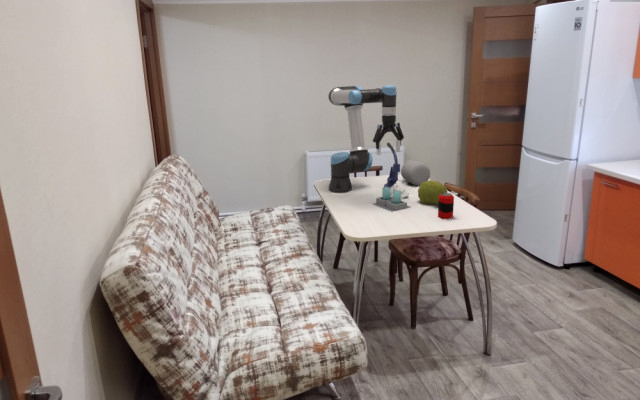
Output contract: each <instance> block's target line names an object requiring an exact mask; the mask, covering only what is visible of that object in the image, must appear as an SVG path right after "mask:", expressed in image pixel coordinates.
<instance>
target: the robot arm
mask: <svg viewBox="0 0 640 400" xmlns="http://www.w3.org/2000/svg"><path fill="white" fill-rule="evenodd" d="M327 96H328V100H329V103H331V105H334V106H339V107H340V106H344V110H346V111H347V120H348V128H349V129H348V130H349V137H350V146H351V149H350V150H349V151H341V152H340V151H339V152H337V153H333V154H332V155H331V156H330V180H329V185H328V191H329V192H332V193H340V194H341V193H348V192H349V193H350V192H351V191H352V190H353V184H352V180H351V179H350V173H357V172H360V173H361V172H367V171H369V170H370V169H371V167H372V165H373V155H372V152H370V151H369V150H368V148H367V146H366V145H365V137H364V127H363V126H364V125H363V119H362V117H363V116H362V108H363V106H364V105H365V104H377V103H381V114H382V115H381V123H382V124H377V127H376V131H375V133H374V137H373V139H372V142H373V143H375V149H376V155H377V156H381V154H382V143H381V141H382V139H383V138H384V137H385V135H386V134H387V133H392V134H393V135H394V137H395V138H396V140H395V152H396V153H400V152H401V147H402V146H401V145H402V141H403V140H405V136H404V133H403V131H402V129H401V123H400V122H397V116H396V114H397V86H395V85H383V86H382V88H381V87H380V88H378V87H377V88H369V89H364V88H363V87H361V86H360V85H349V86H337V87H336V86H335V87H334V88H332V89H331V90H330V91H329V93H328V95H327Z"/></svg>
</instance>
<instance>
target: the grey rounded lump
mask: <svg viewBox="0 0 640 400" xmlns="http://www.w3.org/2000/svg"><path fill="white" fill-rule="evenodd" d="M400 174H401V177H402V178H403V180H404V181H406V182H408V183H410V184H412V185H414V186H416V187H417V186H418V187H420V185H421V184H422V183H423V182H426V181H430V177H431V169H430V168H429V166H428V165H427V164H425V163H423V162H421V161H419V160H415V159H409V160H407V161H405V162H404V163H403V165H402V166H401V168H400ZM404 184H405V185H406V183H404Z"/></svg>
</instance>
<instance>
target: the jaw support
mask: <svg viewBox="0 0 640 400" xmlns="http://www.w3.org/2000/svg"><path fill="white" fill-rule="evenodd" d="M395 190H398V191H401V200H403V199H405V198H406V197H407V198H408V196H409V195H410V193H409V192H408V190H407V191H406V188H403V187H401V185H400V183H397V182H396V183H395V184H394V185H393V186H392V187H390V197H392V198H393V191H395Z"/></svg>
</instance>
